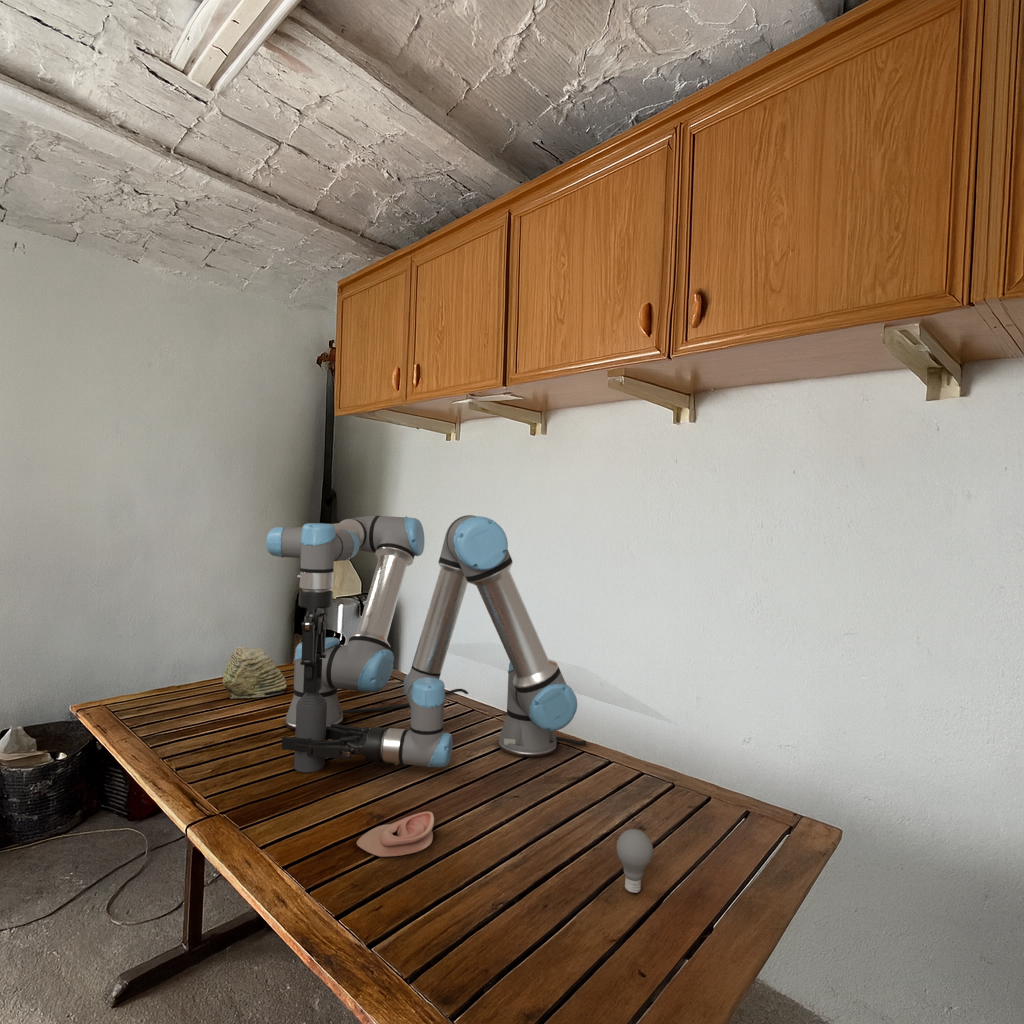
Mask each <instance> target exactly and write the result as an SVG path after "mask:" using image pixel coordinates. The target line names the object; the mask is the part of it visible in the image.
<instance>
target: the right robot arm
mask: <svg viewBox="0 0 1024 1024" xmlns="http://www.w3.org/2000/svg"><path fill="white" fill-rule="evenodd" d="M441 547H442V548H441V551H440V555H439V559H438V565H439V567H440V570H439V573H438V576H437V580H436V583H435V587H434V590H433V593H432V595H431V600H430V603H429V607H428V610H427V612H426V616H425V620H424V623H423V627H422V630H421V633H420V636H419V641H418V642H417V643H418V644H417V646H416V651H415V653H414V656H413V660H412V663H411V667H410V671H409V672H408V673H407V675H405V678H404V681H403V692H404V694H405V696H406V699H407V702H408V703H409V704H410V706H409V708H410V727H409V729H405V728H393V727H389V728H388V729H387V728H386V727H379V726H378V727H377V726H372V727H369V726H367V727H363V726H362V727H359V726H351V725H343V724H340V725H337V724H331V725H330V727H329V726H327V727H326V740H323V741H311V738H309V739H305V738H295V737H292V736H282V737H281V750H282V751H293V752H295V751H303V752H307V757H319V758H325V759H341V760H346V761H349V760H352V756H353V755H355V756H356V755H363V756H364V759H365V760H366V761H367V762H372V763H382V762H384V763H386V764H394V766H398V765H408V766H418V767H425V768H446V767H447V766H449V764H450V762H451V760H452V755H453V747H454V742H453V735H452V734H451V733H448V732H445V731H444V715H445V700H446V695H445V692H446V691H445V690H446V685H445V682H444V681H443V680H442V679H440V678H441V675H442V671H443V668H444V663H445V661H446V658H447V654H448V650H449V647H450V643H451V641H452V637H453V634H454V631H455V628H456V625H457V620H458V617H459V613H460V610H461V607H462V605H463V600H464V598H465V594H466V591H467V587H468V584H471V585H474V586H476V588H477V590H478V593H479V595H480V597H481V599H482V601H483V604H484V606H485V609H486V611H487V613H488V615H489V617H490V619H491V622H492V624H493V627H494V629H495V631H496V633H497V635H498V638H499V640H500V642H501V644H502V646H503V650H504V652H505V654H506V655H507V657H508V660H509V663H508V670H507V674H508V675H507V695H506V696H507V697H506V699H507V700H506V717H505V719H504V722H503V725H502V727H501V730H500V732H499V734H498V735H499V737H498V743H497V745H498V748H499V749H500V750H501V751H503V752H504V753H506V754H509V755H512V756H515V757H520V758H542V757H547V756H549V755H552V754H554V753H555V752H556V751H557V747H558V745H557V744H558V742H563V743H567V744H572V745H577V746H586V745H587V740H575V739H572V738H571V739H570V738H566V737H559V736H556V731H560V730H562V729H563V728H566V727H567V726H568V725H569V724H570V723H572V721H573V719H574V718H575V715H576V713H577V710H578V698H577V695H576V694H575V692H574V690H573V689H572V687H571V686H569V685H568V684H567V682H566V680H565V678H564V675H563V673H562V671H561V669H560V667H559V664H558V662H557V661H555V660H552V659H550V658H548V655H547V653H546V650H545V648H544V645H543V643H542V641H541V639H540V636H539V635H538V632H537V630H536V628H535V624H534V622H533V621H532V618H531V616H530V614H529V612H528V609H527V607H526V605H525V602H524V600H523V597H522V596H521V592H520V591H519V588H518V585H517V584H516V582H515V579H514V577H513V575H512V572H511V568H512V566H513V563H514V560H513V558H512V556H511V554H510V551H509V549H508V547H509V541H508V536H507V535H506V532H505V531H504V529H503V528H502V526H500V524H498V523H497V522H496V521H494V520H493V519H491V518H489V517H486V516H480V515H471V514H467V515H462V516H460V517H457V518H456V519H455V520H453V521H452V522H451V523H450V525H449V526H448V527H447V530H446V532H445V536H444V539H443V543H442V546H441Z"/></svg>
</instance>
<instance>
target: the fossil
mask: <svg viewBox="0 0 1024 1024" xmlns="http://www.w3.org/2000/svg"><path fill="white" fill-rule="evenodd" d="M222 676H223V677H222V685H223V687H224V688H225V690H226V691H228V693H229V698H230V699H250V698H264V697H271V696H275V695H281V694H284V693H285V691H286V689H287V687H288V686H287V680H286V678H285V676H284V674H283V673H282V672H281V669H279V668H278V667H277V665H276V663H275V662H274V660H273V659H272V658H271V657H270V656H269V655H268V654H267V653H266V652H265V650H264V649H263V648H260V647H258V648H251V647H247V646H246V647H245V646H238V647H237V648H236V649H235V650H233V651H232V653H231V656H230V657H229V659H228V660H227V663H226V666H225V668H224V671H223V675H222Z"/></svg>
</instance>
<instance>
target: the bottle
mask: <svg viewBox="0 0 1024 1024" xmlns="http://www.w3.org/2000/svg"><path fill="white" fill-rule="evenodd" d="M326 718H327V702H326V699H324V697H322V695H320V693H319V690H318V691H316V693H305V694H304V696H302V698H300V700H298V703H297V704H296V730H294V733H295V734H294V738H305V739H309V738H311V741H323V740H326ZM293 758H294V762H293V769H294V770H295V771H297V772H300V773H315V772H318V771H320V770H323V769H324V767H325V766H326V758H319V757H307V752H303V751H294V757H293Z"/></svg>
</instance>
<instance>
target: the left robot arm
mask: <svg viewBox="0 0 1024 1024" xmlns="http://www.w3.org/2000/svg"><path fill="white" fill-rule="evenodd" d="M265 546H266V550H267V552H268V553H269V554H270V555H271V556H273V557H279V558H293V559H300V567H299V574H298V575H297V579H298V580H299V589H300V590H299V592H298V606H299V607H300V608H302V609H306V614H305V615H304V619H303V621H301V642H299V643H298V644H297V645H296V647H295V652H294V653H295V654H294V659H293V661H294V672H293V695H292V696H293V697H292V699H291V702H290V704H289V708H288V711H287V713H286V715H285V726H286V728H287V729H289V730H291V731H295V730H296V704H297V703H298V700H300V698H302V696H304V694H305V693H316V678H317V677H318V678H321V679H322V687H321V690H319V693H320V695H322V697H324V699H326V702H327V718H326V727H327V726H329V727H330V725H331V724H337V725H342V723H343V722H344V715H345V714H357V713H358V714H359V713H371V712H381V711H389V710H395V709H401V708H407V707H410V704H409V702H407V703H402V704H401V703H400V704H396V705H389V706H388V705H387V706H381V707H371V708H358V709H357V708H355V709H342V706H341V702H340V699H339V695H338V689H339V690H347V691H354V692H360V693H378V692H380V691H381V690H382V689H384V688H385V687H386V686H387V684H388V683H389V681H390V678H391V677H392V673H393V671H394V666H395V665H394V662H395V656H394V653H393V651H392V650H391V645H390V643H389V642H388V637H389V633H390V630H391V625H392V621H393V618H394V614H395V611H396V607H397V605H398V604H397V603H398V600H399V597H400V592H401V589H402V585H403V581H404V577H405V574H406V570H407V567H409V566H411V565H412V564H413V563H414V560H415V557H419V556H421V555H423V552H424V550H425V531H424V527H423V524H422V523H421V521H420V520H419V519H418V518H416V517H410V516H409V517H408V516H388V515H366V516H360V517H359V516H358V517H353V518H352V517H351V518H346V519H343V520H341V521H340V522H338V523H323V522H319V523H317V522H316V523H315V522H314V523H313V522H311V523H309V522H307V523H305V524H303V525H302V526H297V527H286V526H282V527H281V526H280V527H279V526H275V527H273V528H271V529H270V530H269V531H268V533H267V535H266V544H265ZM359 551H360V552H364V553H365V552H366V553H373V554H375V556H376V558H377V563H376V567H375V571H374V574H373V577H372V581H371V584H370V587H369V589H368V594H367V597H366V601H365V604H364V607H363V611H362V614H361V618H360V621H359V624H358V628H357V631H356V633H354V634H352V635H350V636H349V638H348V641H347V644H346V645H345V644H343V645H342V644H340V643H341V641H340V639H339V638H338V637H334V636H333V637H327V636H326V635H327V634H326V633H327V620H328V612H325V609H327V608H330V607H332V606H333V598H334V597H333V595H334V593H333V590H332V589H333V588H334V577H335V576H334V570H335V569H334V567H335V562H339V561H346V560H350V559H352V558H354V557H355V556H356V555H357V554H358V552H359ZM458 692H460V693H464V695H469V692H468V691H467V690H466V689H464V688H454V689H450V690H447V691H445V696H446V695H450V694H454V693H458Z"/></svg>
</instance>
